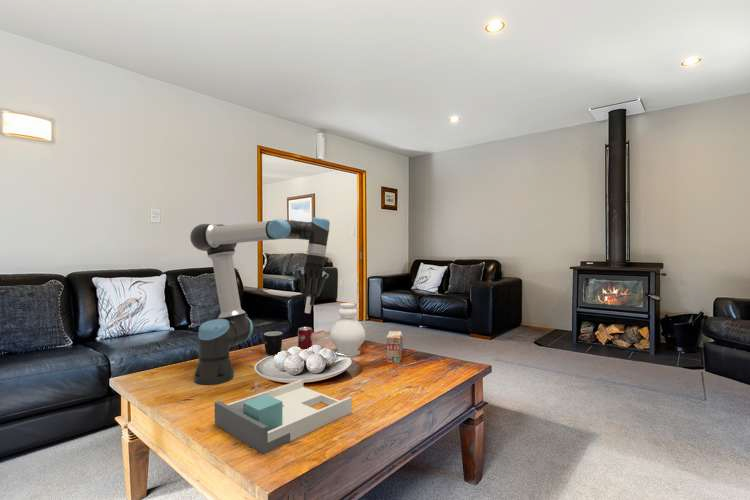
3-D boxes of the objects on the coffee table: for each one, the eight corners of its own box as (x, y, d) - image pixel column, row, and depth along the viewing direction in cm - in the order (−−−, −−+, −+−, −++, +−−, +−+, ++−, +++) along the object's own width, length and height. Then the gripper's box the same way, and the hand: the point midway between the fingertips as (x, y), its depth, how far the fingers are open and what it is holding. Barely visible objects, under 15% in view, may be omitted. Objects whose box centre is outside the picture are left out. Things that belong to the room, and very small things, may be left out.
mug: (263, 351, 203) (263, 332, 203) (281, 350, 206) (281, 330, 206) (264, 358, 192) (264, 337, 191) (283, 356, 194) (283, 336, 194)
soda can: (300, 354, 199) (300, 330, 198) (296, 350, 205) (296, 327, 205) (314, 352, 202) (314, 329, 202) (309, 349, 208) (309, 326, 208)
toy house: (390, 350, 207) (390, 326, 207) (402, 350, 206) (402, 327, 206) (386, 362, 186) (386, 336, 185) (399, 363, 185) (399, 337, 185)
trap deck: (301, 392, 149) (301, 374, 149) (351, 412, 132) (351, 391, 132) (214, 424, 123) (214, 402, 123) (262, 454, 106) (262, 428, 106)
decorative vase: (355, 360, 190) (355, 307, 189) (323, 355, 197) (323, 305, 196) (371, 350, 206) (371, 302, 205) (340, 346, 213) (340, 300, 212)
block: (266, 417, 123) (266, 394, 123) (282, 424, 118) (282, 401, 117) (243, 426, 117) (243, 402, 116) (258, 434, 111) (258, 410, 111)
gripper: (333, 258, 166) (325, 314, 163) (304, 254, 168) (295, 310, 166) (328, 256, 158) (319, 315, 156) (297, 252, 161) (288, 310, 159)
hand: (307, 312), depth 161 cm, fingers closed
